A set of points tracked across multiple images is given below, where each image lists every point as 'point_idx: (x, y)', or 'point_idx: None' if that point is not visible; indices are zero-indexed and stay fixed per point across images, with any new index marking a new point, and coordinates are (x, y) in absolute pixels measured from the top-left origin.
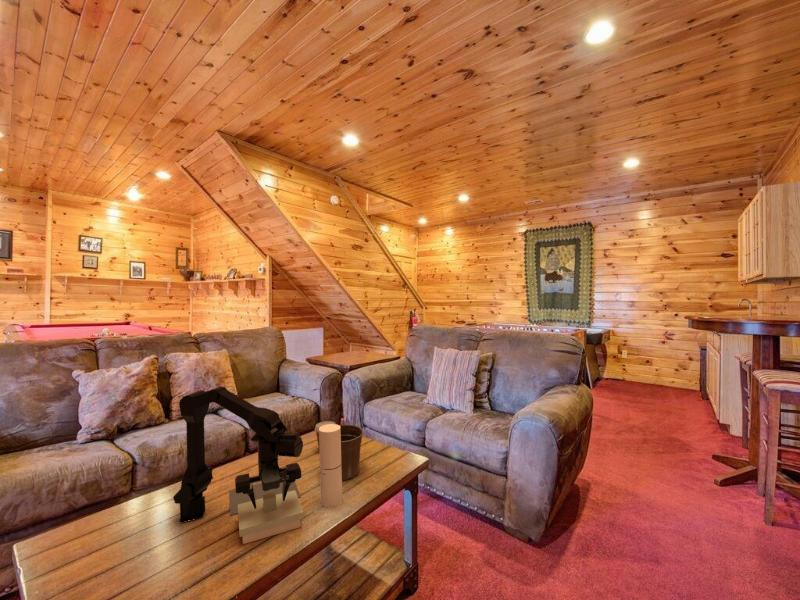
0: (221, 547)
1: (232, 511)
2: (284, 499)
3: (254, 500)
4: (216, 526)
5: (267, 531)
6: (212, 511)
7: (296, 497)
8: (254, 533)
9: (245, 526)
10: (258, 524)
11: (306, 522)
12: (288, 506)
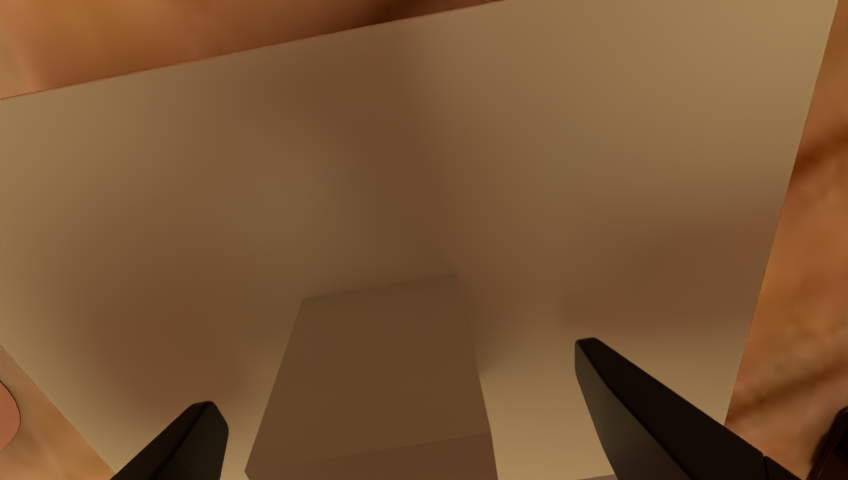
0: (834, 23)
1: None
2: (176, 423)
3: (681, 447)
4: (789, 315)
5: None
6: (770, 449)
7: (112, 451)
8: None
9: (741, 14)
10: (539, 3)
11: None
12: (152, 326)
